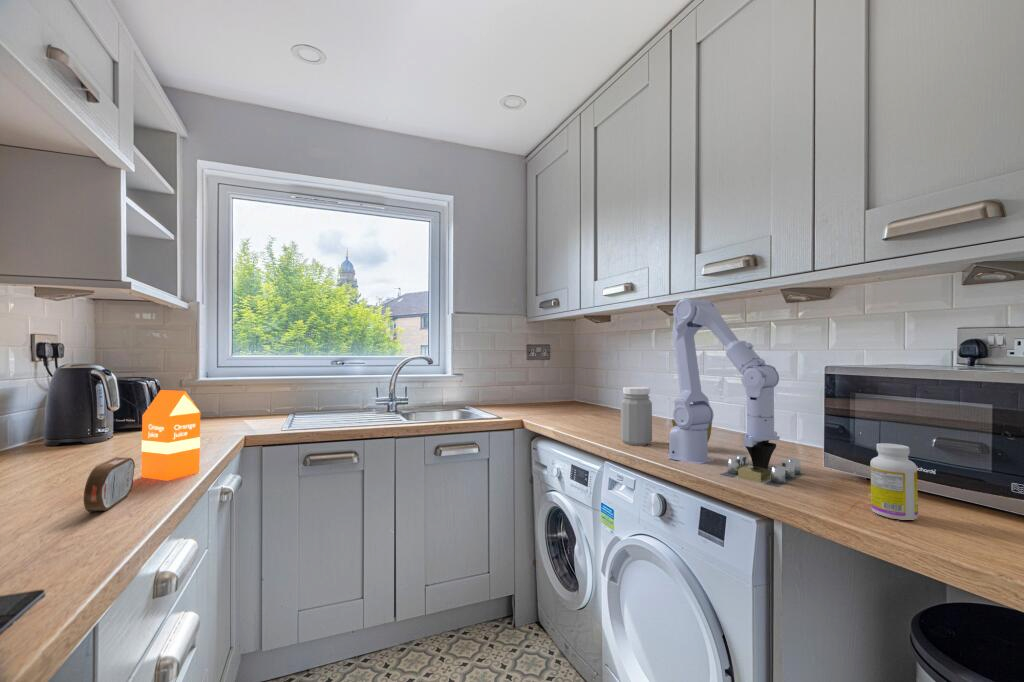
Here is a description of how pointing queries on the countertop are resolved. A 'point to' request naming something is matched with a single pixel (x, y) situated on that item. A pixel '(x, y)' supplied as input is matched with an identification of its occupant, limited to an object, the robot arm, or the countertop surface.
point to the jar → (636, 416)
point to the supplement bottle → (894, 482)
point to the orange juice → (170, 437)
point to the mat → (767, 482)
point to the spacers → (777, 472)
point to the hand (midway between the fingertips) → (760, 473)
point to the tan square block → (754, 473)
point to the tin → (108, 484)
